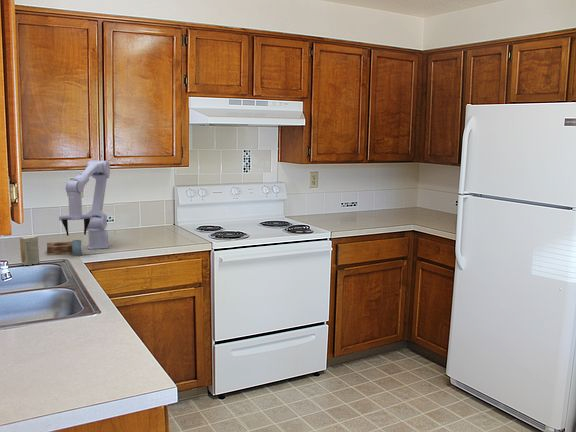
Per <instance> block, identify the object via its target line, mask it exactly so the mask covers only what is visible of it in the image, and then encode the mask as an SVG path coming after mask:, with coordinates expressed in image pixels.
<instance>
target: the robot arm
mask: <svg viewBox="0 0 576 432" xmlns="http://www.w3.org/2000/svg"><path fill="white" fill-rule="evenodd" d="M110 164H111V163H110V162H109V161H108V160H93V159H91V160H90V159H89V161H88V162H87V163H86V168H85V169H84V171H81V172H78V174H77V175H75V177H73V179H72V180H68V181H66V183H65V188H64V189H65V192H66V195H67V197H68V214H67V215H58V221H60V222H62V225H63V227H64V229H65V232H66V237H67V236H69V225H68V223H69V222H68V221H74V220H77V221H79V220H83V226H84V227H83V235H84V236H86V235H87V234H88V245H87V248H88V250H95V249H108V248H109V243H110V242H109V231H108V229H106V228H107V226H108V218H107V217H108V216H107V214H106V213H104V212H103V207H104V201H105V195H106V187H107V181H108V179H109V178H110V174H111V165H110ZM90 177H92V178H93V179H95V185H94V192H93V201H92V207H91V210H90V211H88V212H87V213H86V214H83V205H82V204H83V203H82V202H83V201H82V199H83V198H82V193H83V192H84V190H85V189H84V188H85V187H86V186H85V185H87V183H88V182H90ZM87 232H88V233H87Z"/></svg>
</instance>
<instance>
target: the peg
mask: <svg viewBox="0 0 576 432" xmlns="http://www.w3.org/2000/svg"><path fill="white" fill-rule="evenodd" d="M71 242H72V250H73V254H72V256H73V257H79V256H82V255H83V254H82V253H83V252H82V240H81V239H73V240H71Z"/></svg>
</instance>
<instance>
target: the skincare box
mask: <svg viewBox="0 0 576 432" xmlns="http://www.w3.org/2000/svg"><path fill="white" fill-rule="evenodd" d="M38 239H39V238H38V236H36V235H28V236H23V237H19V245H20V259H21V260H20V261H21V265H22V264H24V265H23V266H25V265H29V266H33V265H32V264H34V265H38V263H39V264H40V252H39V250H40V249H39V240H38Z"/></svg>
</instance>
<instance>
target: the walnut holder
mask: <svg viewBox="0 0 576 432" xmlns="http://www.w3.org/2000/svg"><path fill="white" fill-rule="evenodd" d="M46 253H47V256H58V255H59V256H60V255H61V256H62V255H73V250H72V241H61V242H60V241H57V242H46Z"/></svg>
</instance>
